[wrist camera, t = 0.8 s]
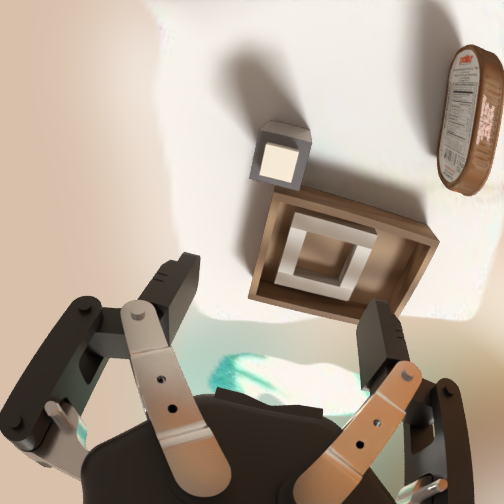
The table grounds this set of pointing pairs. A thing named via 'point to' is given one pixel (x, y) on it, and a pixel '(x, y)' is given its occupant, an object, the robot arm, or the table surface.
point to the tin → (470, 120)
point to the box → (337, 255)
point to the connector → (281, 155)
